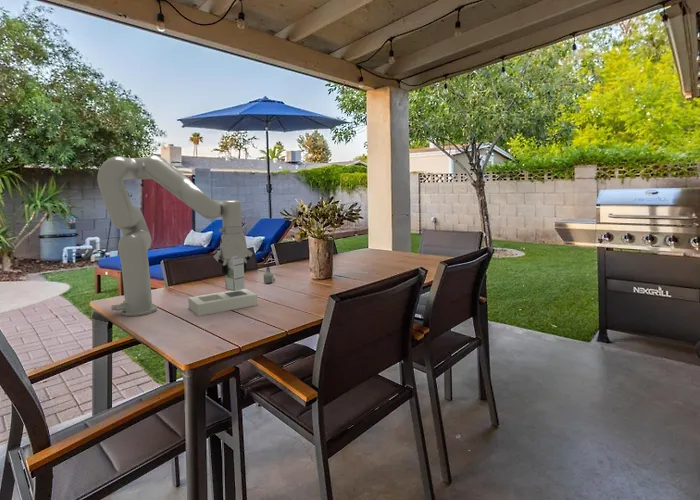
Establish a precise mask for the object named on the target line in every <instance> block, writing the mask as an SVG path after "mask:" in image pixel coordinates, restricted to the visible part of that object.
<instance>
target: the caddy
mask: <svg viewBox="0 0 700 500" xmlns="http://www.w3.org/2000/svg"><path fill="white" fill-rule="evenodd" d="M187 299H188V300H187V301H188V309H189V310H190V311H192V312H193V313H194V314H195V315H196V316H198V317H200V316H205V315H206V316H207V315H211V314H217V313H222V312H223V313H224V312H227V311H233V310H239V309H244V308H249V307H250V308H251V307H255V306H258V294H257V293H255V292H253V291H250V290H249V289H247V288H245V289H241V290H238V291H232V290H226V291H221V292H214V293H208V294H202V295H195V296H189V297H187Z"/></svg>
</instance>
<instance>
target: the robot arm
mask: <svg viewBox="0 0 700 500" xmlns="http://www.w3.org/2000/svg"><path fill="white" fill-rule="evenodd" d="M133 180H153V181H155V183H157V184H159V185H160V186H161V187H163V188H164V189H166V190H167V191H168V192H169V193H171V194H172V195H173V196H175V197H176V198H177V199H178V200H180V201H182V202H183V203H184V204H185V205H187V206H188V207H189V208H190V209H192V210H193V211H194V212H196V213H197V214H199V215H200V216H201V217H202V218H205V219H206V220H210V221H212V220H216V219H218V218H221V219H222V227H221V228H219V233H222V234H221V236H220V242H219V243H220V245H219V247H220V248H219V250H218V251H217V252H216V253H215V254H214V255H213V258H214V259H215V260H216V261H217V262H218V264H220V265H221V272H222V274H223V275H224V276H225V275H227V265H226V263H227V261H228V259H231V257H233V256H237V257H238V258H243V261H244V274H245V273H246V272H247V263H248V261H249V260H250V258H251V257H252V256H253V253H254V252H252V251H251V250H250V249H248V245H247V241H246V240H247V239H246V234H245V233H243V222H242V221H243V220H242V204H241V201H240V200H237V199H227V200H225V199H224V200H220V199H219V200H218V199H213V198H211V197H210V196H209V195H207V194H206V193H205V192H203V191H202V190H201V189H200V188H198V186H196V184H195V183H193V182H192V180H191V179H190V178H189V177H188V176H186V175H185V174H183V173H182V172H181V171H180V170H178V169H177V168H175V167H174V166H173V165H171V164H170V163H169V162H168V161H167V160H166V159H165V158H163V157H161V156H159V155H154V154H153V155H149V156H146V157H125V156H121V155H120V156H119V155H117V156H112V157H110V158H107V159H106V160H105V161H104V162H103V163H102V164H101V165H100V167H99V168H98V171H97V185H98V187H99V190H100V194H101V197H102V199H103V202H104V205H105V208H106V210H107V213H108V215H109V219H110V221H111V223H112V225H113V227H114V228H117V229H118V230H120V231H121V232H122V234H123V235H122V236H121V237H120V239H119V241H118V245H117V248H118V249H117V250H118V251H117V252H118V255H119V259H120V267H121V274H122V285H123V295H124V296H123V298H124V300H123V301H122V302H121V303H119V304H112V305H111V306H110V307H111V311H120V314H121V315H122V316H125V317H136V316H137V317H138V316H145V315H149V314H153V313H154V312H156V311H157V310H158V306H157V305H155V304H153V298H152V297H153V296H152V295H153V294H152V287H151V286H152V284H151V283H152V282H151V274H150V264H149V257H148V251H149V249H150V248H151V245H152V242H153V241H152V236H151V233H150V231H149V228H148V225H147V222H146V219H145V217H144V215H143V212H142V211H141V209H140V208H139V207H138V206H137V205H134V204H133V203H132V202H131V199H130V195H129V193H128V189H126V186H125V182H124V181H133ZM220 257H221V258H222V259H221V258H220Z"/></svg>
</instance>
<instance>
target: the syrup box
mask: <svg viewBox="0 0 700 500" xmlns="http://www.w3.org/2000/svg"><path fill="white" fill-rule="evenodd" d="M226 265H227V275H224V283H225V289H226V291H238V290H241V289H246V285H245V273H244V261H243V258H238V257H237V256H233V257H231V259H228V261H227V263H226Z"/></svg>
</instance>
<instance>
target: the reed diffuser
mask: <svg viewBox="0 0 700 500" xmlns="http://www.w3.org/2000/svg"><path fill="white" fill-rule="evenodd" d="M268 244H269V247H268V251H267V250H265V249H267V247H266V246H267V245H266V244H264V246H261V245H259V249H260V251H261V253H262V256H263V257H262V258H263V260H264V262H265V265H266V268H265V270H266V271H265V273H263V282H264V283H273V282H274V281H276V277H275V276H274V274H273V273H272V272H271V268H270V263H268V262H269V260H271V259H270V253H271V252H270V251H271V250H270V249H271V244H270V243H268ZM262 248H263V249H262ZM263 250H265V251H263ZM263 253H264V254H263ZM266 255H268V256H266Z"/></svg>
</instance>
